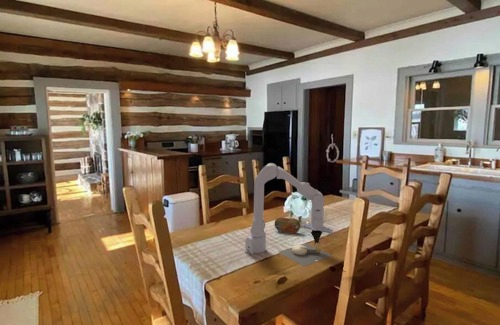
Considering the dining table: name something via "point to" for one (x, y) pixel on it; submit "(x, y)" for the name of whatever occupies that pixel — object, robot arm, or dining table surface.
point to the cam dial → (306, 249)
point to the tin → (287, 225)
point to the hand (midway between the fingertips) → (316, 245)
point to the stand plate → (305, 256)
